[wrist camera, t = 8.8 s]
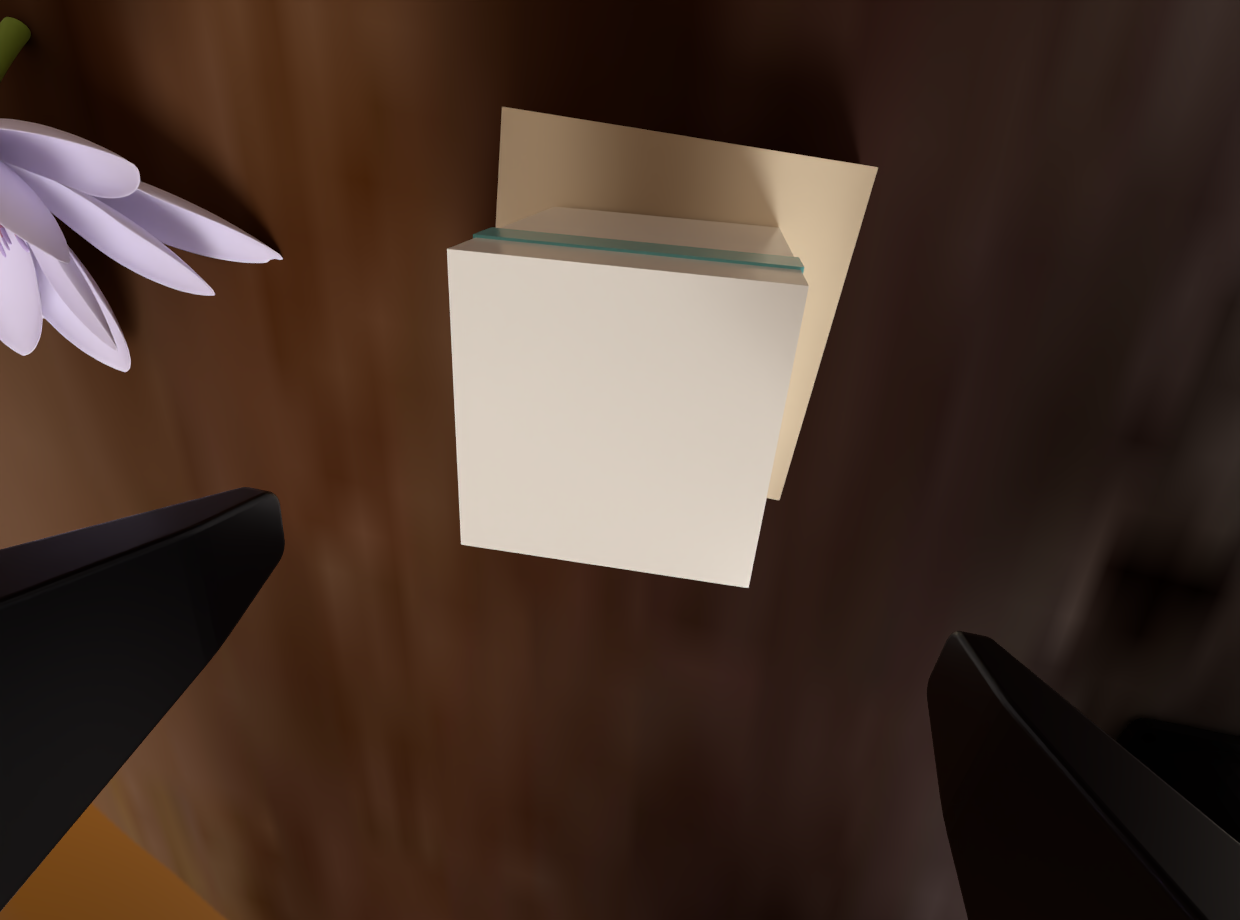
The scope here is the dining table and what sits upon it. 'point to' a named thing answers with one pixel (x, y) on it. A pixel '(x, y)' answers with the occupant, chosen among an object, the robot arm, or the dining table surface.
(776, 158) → the block
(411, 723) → the dining table surface
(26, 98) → the dining table surface
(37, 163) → the water lily
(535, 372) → the teal-striped cream cube
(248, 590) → the robot arm
